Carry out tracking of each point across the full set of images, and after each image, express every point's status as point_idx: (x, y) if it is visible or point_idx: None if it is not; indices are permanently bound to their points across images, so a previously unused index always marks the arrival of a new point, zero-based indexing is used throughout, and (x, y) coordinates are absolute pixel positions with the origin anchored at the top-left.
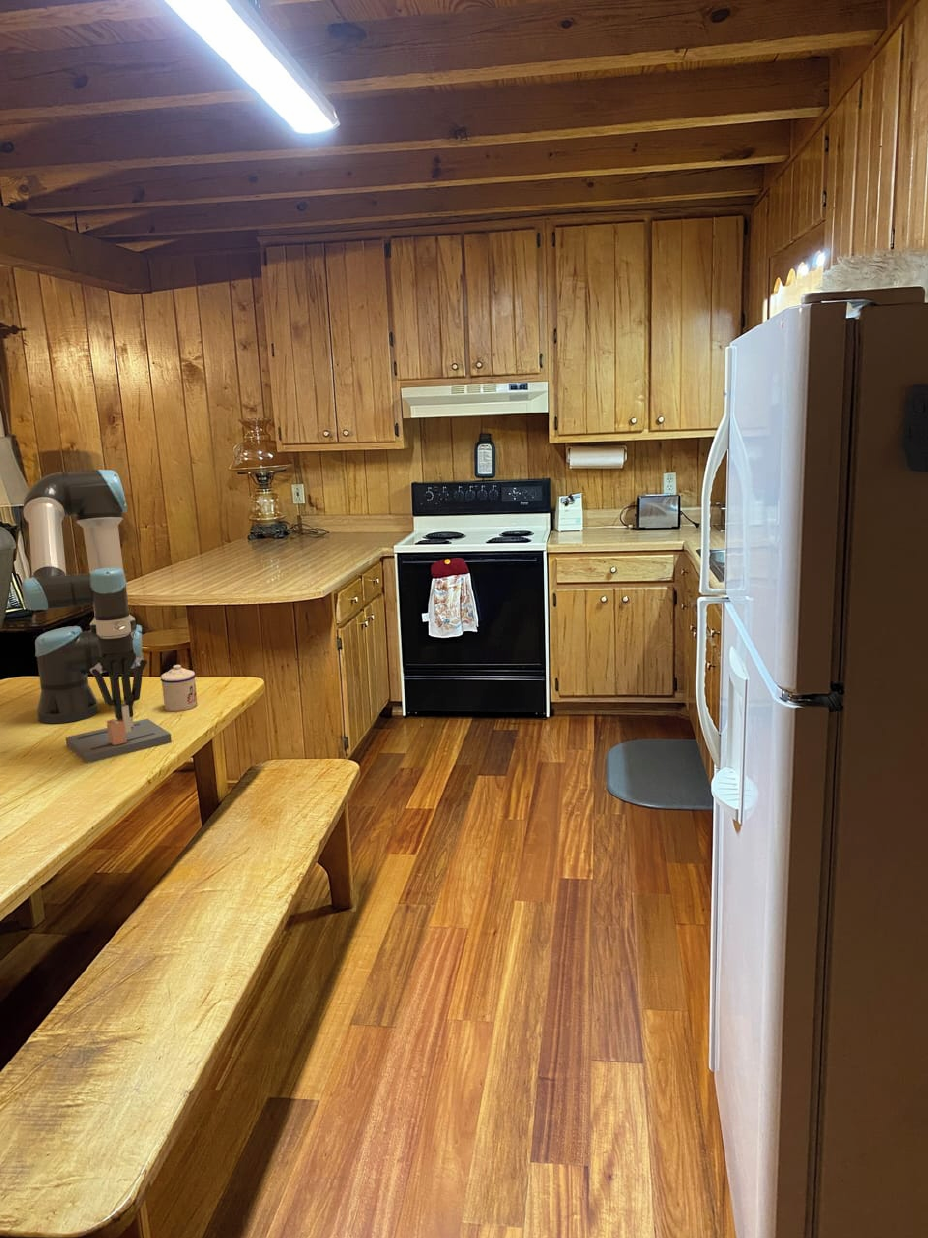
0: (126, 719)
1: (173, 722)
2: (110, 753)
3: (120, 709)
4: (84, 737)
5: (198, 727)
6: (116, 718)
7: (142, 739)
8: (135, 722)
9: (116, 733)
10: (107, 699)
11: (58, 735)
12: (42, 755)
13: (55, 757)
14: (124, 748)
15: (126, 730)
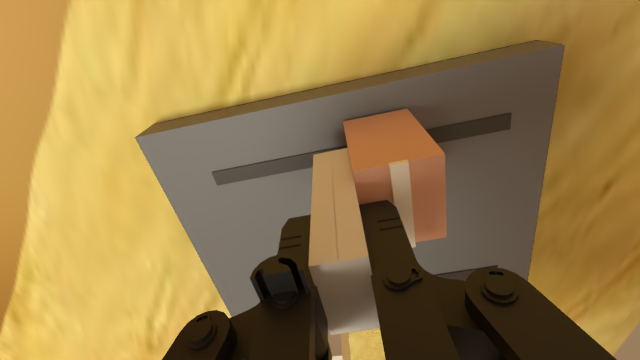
0: (335, 190)
1: (168, 307)
2: (427, 68)
3: (377, 254)
4: (473, 269)
5: (67, 231)
6: (348, 339)
7: (268, 131)
8: None
9: (400, 133)
10: (581, 343)
11: None
12: (610, 228)
13: (590, 187)
14: (359, 84)
15: (340, 154)
